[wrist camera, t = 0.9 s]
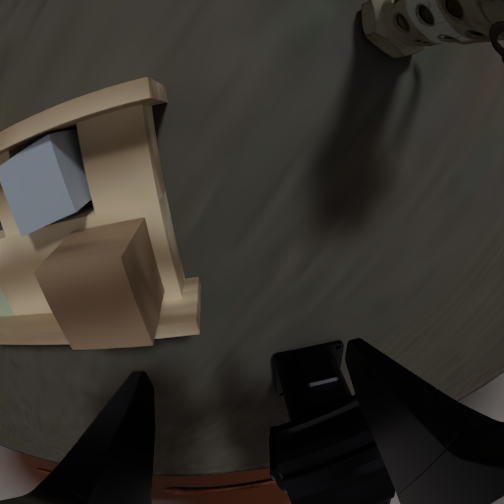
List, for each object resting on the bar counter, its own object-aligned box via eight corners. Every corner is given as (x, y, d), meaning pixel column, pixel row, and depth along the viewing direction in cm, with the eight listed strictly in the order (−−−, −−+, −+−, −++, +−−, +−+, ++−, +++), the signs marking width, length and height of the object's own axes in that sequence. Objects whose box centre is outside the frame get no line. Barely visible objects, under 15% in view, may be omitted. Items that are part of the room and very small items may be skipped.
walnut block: (164, 290, 18) (153, 345, 14) (96, 299, 18) (73, 350, 13) (144, 217, 16) (120, 257, 11) (72, 231, 16) (33, 272, 11)
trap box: (201, 288, 21) (199, 334, 17) (-6, 311, 20) (-29, 343, 16) (165, 87, 15) (147, 76, 11) (-55, 177, 14) (-90, 194, 9)
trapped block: (103, 190, 17) (76, 212, 13) (54, 211, 17) (22, 237, 13) (82, 127, 15) (48, 134, 11) (33, 154, 15) (-4, 168, 11)
